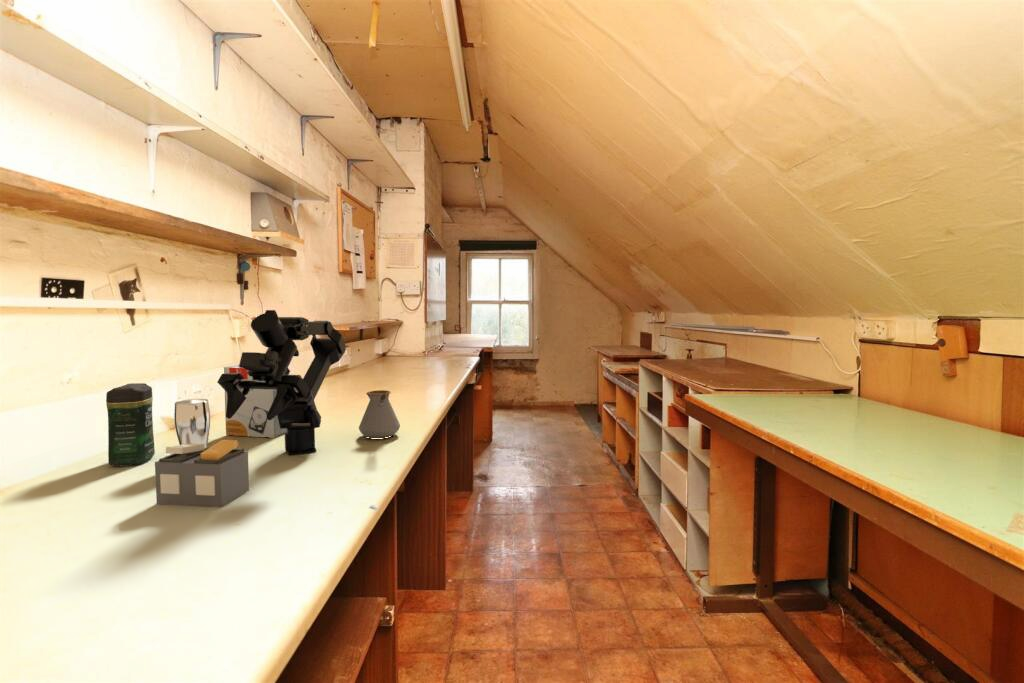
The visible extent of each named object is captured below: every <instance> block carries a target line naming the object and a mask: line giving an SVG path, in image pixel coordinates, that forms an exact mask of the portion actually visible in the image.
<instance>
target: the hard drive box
mask: <svg viewBox="0 0 1024 683" xmlns="http://www.w3.org/2000/svg"><path fill="white" fill-rule="evenodd" d="M223 369H224V370H223V371H224V372H223V374H224V373H240V374H241V375H242V376H243V378H244V379H249V380H252V378H253V377H252V376H249V375H248V371H249V370H247V369H245V368H240V367H239V364H235V365H229V366H224V367H223ZM285 375H286V374H285ZM276 394H277V390H264V389H250V390H249V392H248V394H247V395H245V397H246V399H245V401H244V402H243V403H242V405H241V406H240V407H239V409H238V410H237V411H236V413H235V414H234V415H233V416H232V417H231V418H230V419H228V418H227V417H226V410H227V392H226V391H225V390H224V411H225V412H224V414H225V435H226V436H235V437H250V436H251V438H253V437H254V438H259V437H269V439H275V438H277V437H279V436H278V435H280V436H282V435H284V434H283V433H286V432H287V429H286V428H283V429H280V425H279V421H278V416H277V415H276V416H275V417H274V418H273V419H271V420H268V419H267V415H268V412H269V409H270V407H271V405H272V403H273V401H274V399H275V397H276ZM281 434H282V435H281ZM276 436H277V437H276ZM274 437H275V438H274Z"/></svg>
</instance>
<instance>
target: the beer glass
mask: <svg viewBox="0 0 1024 683" xmlns="http://www.w3.org/2000/svg"><path fill="white" fill-rule="evenodd" d="M173 410H174V412H173V418H174V419H173V421H174V428H175V434H176V437H177V441H178V445H183V444H205V448H208V446H209V445H208V442H209V437H210V429H211V411H210V404H209V398H208V399H207V398H190V399H183V400H177V401H175V402H174V409H173Z"/></svg>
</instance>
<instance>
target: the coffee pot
mask: <svg viewBox="0 0 1024 683" xmlns="http://www.w3.org/2000/svg"><path fill="white" fill-rule="evenodd" d="M391 393H392V392H391V390H386V389H385V390H383V389H382V390H372V391H371V390H370V391H367V392H366V395H367V396H368V398H369V402H368V404H367V406H366V409H365V411H364V414H363V416H362V417H361V418H362V419H361V421H360V422H359V426H358V431H359V432H360V433H361V434H362V435H363V436H365V438H366V437H369V438H385V437H389V436H392V435H393V436H394V435H395V434H397V433H398V431H399V430H400V427H401V425H400V421H399V419H398V417H397V415H396V413H395V411H394V408H393V406H392V403H391V401H390V400H389V398H390V394H391Z"/></svg>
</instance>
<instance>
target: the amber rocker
mask: <svg viewBox="0 0 1024 683" xmlns="http://www.w3.org/2000/svg"><path fill="white" fill-rule="evenodd" d="M238 443H239V442H238V439H220V440H219V441H217V443H215V444H213V445H212V446H210V447H209V449H207V450H205V451H204V452H202V453H201V460H219V459H220V458H221V457H223V456H224V455H226V454H227V453H229V452H230V451H231V450H233V449H237V448H238V446H239V444H238Z"/></svg>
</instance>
